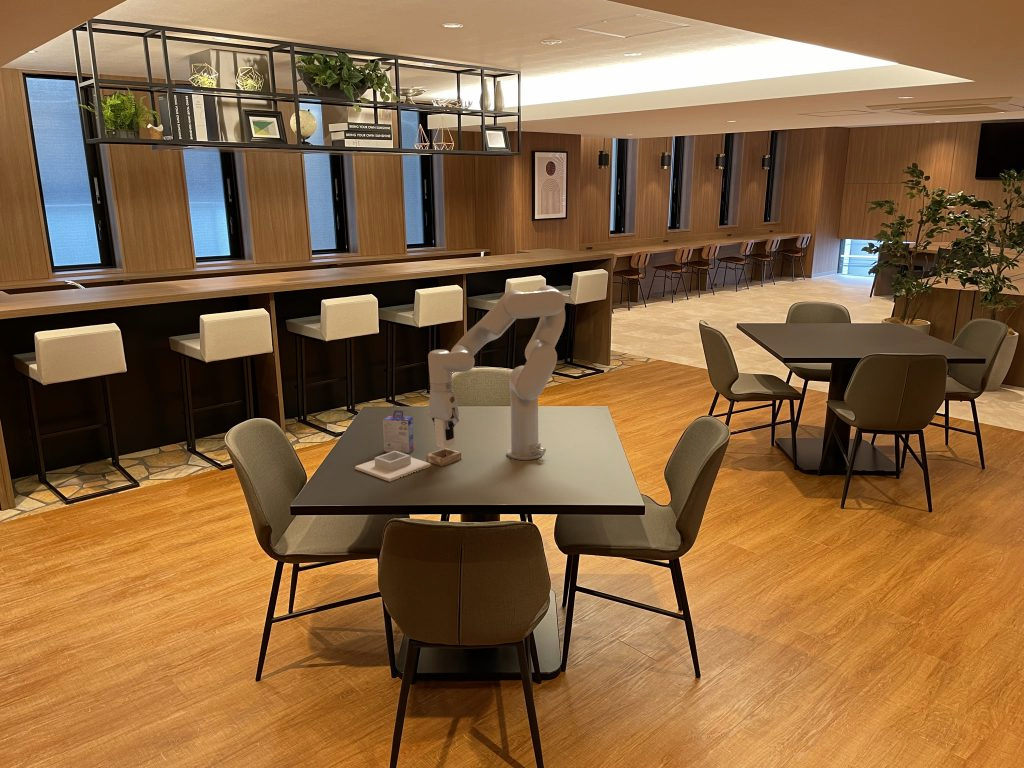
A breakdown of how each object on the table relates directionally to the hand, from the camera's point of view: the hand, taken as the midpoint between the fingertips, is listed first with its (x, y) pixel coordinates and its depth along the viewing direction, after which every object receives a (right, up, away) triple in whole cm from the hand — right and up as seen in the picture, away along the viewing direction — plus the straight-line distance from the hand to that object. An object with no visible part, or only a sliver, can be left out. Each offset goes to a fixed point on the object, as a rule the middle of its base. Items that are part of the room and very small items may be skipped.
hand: (445, 437), depth 266 cm
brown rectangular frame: (-1, -8, +2) cm, 8 cm away
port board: (-17, -10, -4) cm, 20 cm away
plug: (0, -3, +1) cm, 3 cm away
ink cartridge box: (-18, -6, +13) cm, 22 cm away
